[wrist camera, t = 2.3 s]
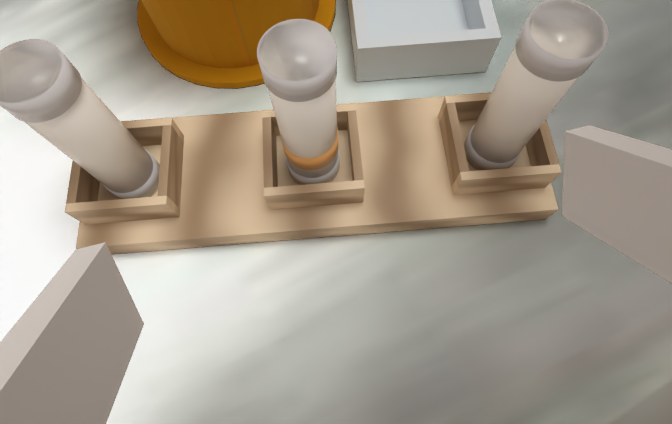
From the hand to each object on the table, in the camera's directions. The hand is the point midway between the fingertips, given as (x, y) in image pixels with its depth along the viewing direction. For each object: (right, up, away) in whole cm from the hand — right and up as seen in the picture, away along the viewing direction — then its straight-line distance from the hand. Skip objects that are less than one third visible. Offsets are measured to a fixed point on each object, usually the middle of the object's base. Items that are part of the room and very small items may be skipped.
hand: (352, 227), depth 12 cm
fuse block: (-2, +3, +21) cm, 22 cm away
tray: (+6, +17, +27) cm, 32 cm away
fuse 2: (+11, +5, +20) cm, 23 cm away
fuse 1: (-15, +3, +20) cm, 25 cm away
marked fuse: (-2, +4, +20) cm, 20 cm away
